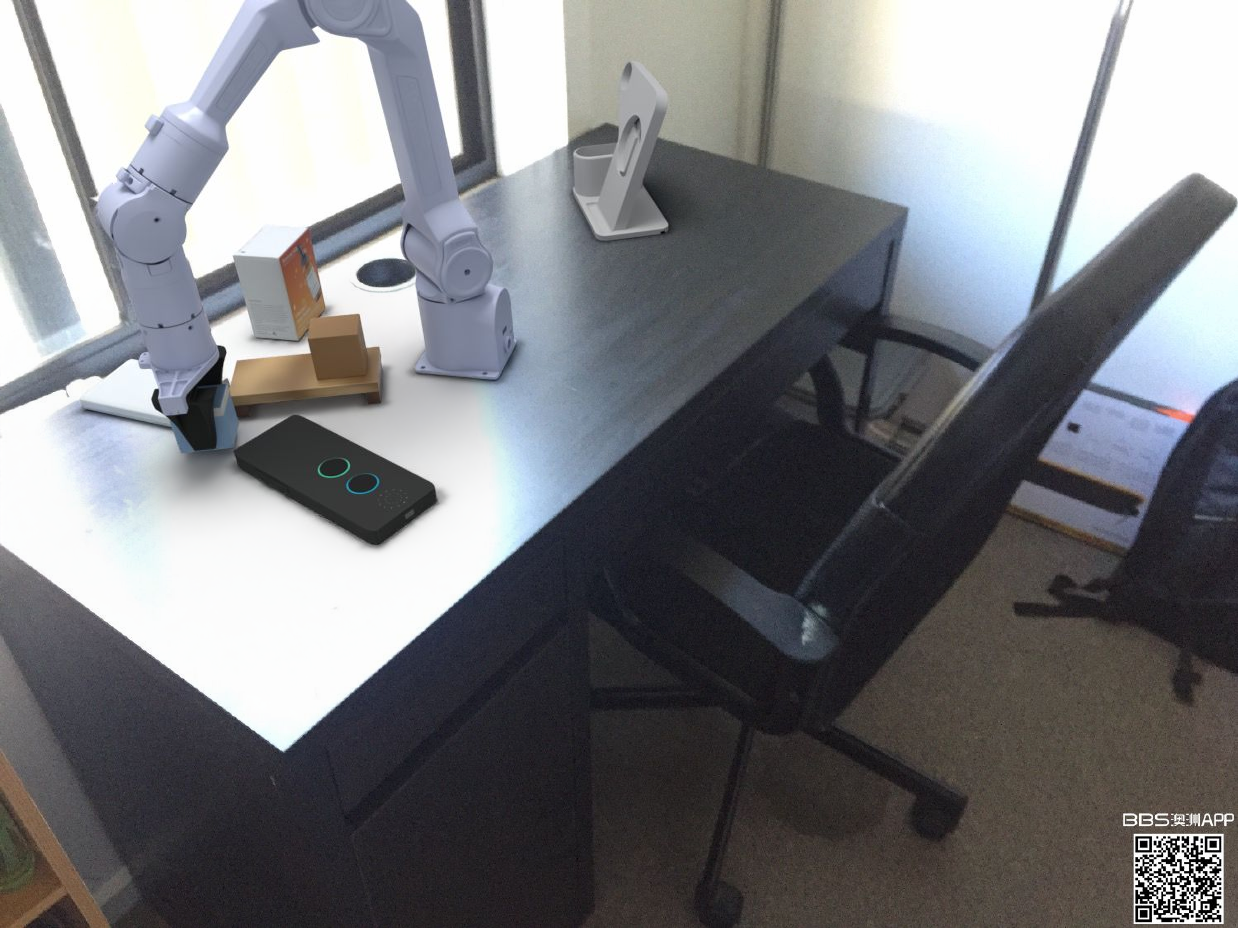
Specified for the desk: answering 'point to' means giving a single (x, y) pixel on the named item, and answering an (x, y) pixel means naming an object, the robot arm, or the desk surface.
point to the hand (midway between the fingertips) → (209, 433)
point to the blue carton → (216, 421)
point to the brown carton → (337, 346)
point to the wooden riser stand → (298, 381)
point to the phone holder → (624, 163)
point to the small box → (280, 282)
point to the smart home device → (336, 478)
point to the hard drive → (128, 394)
